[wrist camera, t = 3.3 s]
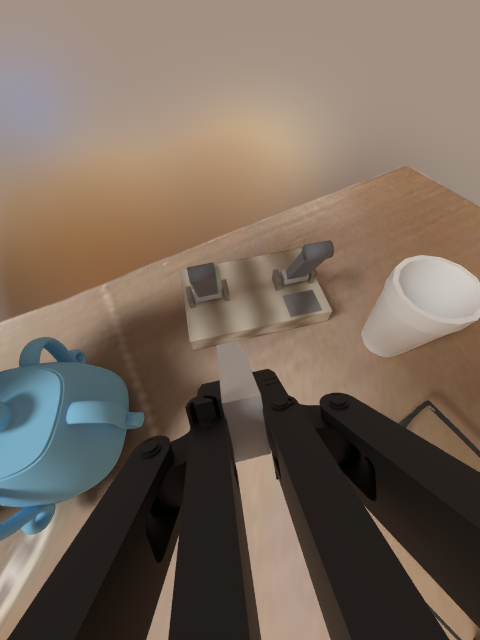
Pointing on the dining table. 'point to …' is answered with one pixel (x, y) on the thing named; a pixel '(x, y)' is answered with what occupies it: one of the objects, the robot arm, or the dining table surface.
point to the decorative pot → (57, 431)
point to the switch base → (253, 301)
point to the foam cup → (421, 305)
